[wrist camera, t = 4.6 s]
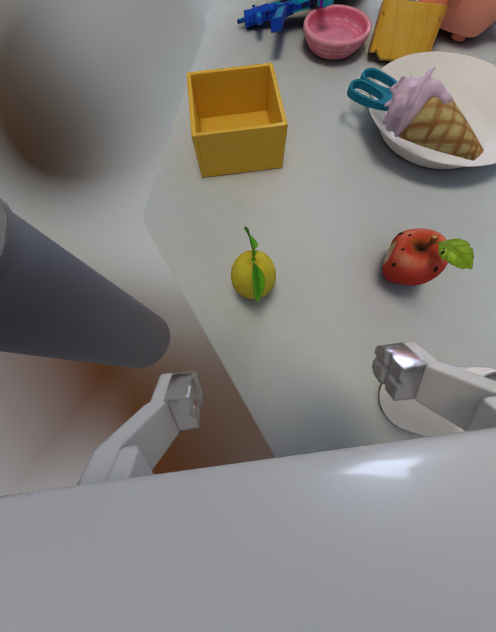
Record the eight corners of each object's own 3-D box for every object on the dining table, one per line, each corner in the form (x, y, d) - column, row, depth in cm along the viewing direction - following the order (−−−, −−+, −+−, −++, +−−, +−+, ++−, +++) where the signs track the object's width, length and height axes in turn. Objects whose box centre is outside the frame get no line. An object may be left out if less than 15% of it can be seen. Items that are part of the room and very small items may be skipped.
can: (441, 425, 27) (585, 458, 15) (387, 434, 27) (489, 473, 15) (422, 368, 28) (536, 358, 17) (370, 376, 28) (450, 372, 17)
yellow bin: (202, 177, 38) (191, 136, 31) (196, 120, 41) (186, 72, 35) (282, 167, 38) (287, 124, 31) (269, 111, 42) (272, 62, 35)
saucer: (313, 21, 48) (317, -4, 45) (372, 34, 47) (380, 10, 43) (291, 56, 45) (294, 33, 42) (352, 72, 44) (360, 49, 40)
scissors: (369, 64, 37) (487, 124, 33) (366, 72, 38) (481, 131, 34) (345, 87, 36) (464, 151, 32) (342, 94, 37) (458, 158, 33)
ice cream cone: (515, 116, 29) (418, 46, 29) (510, 137, 26) (403, 61, 27) (459, 165, 35) (379, 107, 35) (450, 186, 33) (364, 124, 33)
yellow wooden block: (426, 63, 42) (404, 85, 51) (456, -16, 38) (427, 22, 46) (369, 56, 43) (356, 79, 51) (391, -23, 39) (373, 16, 47)
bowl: (536, 117, 39) (563, 92, 36) (471, 214, 34) (495, 196, 31) (403, 60, 44) (415, 33, 41) (329, 138, 39) (336, 114, 36)
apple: (359, 266, 33) (403, 217, 23) (395, 242, 33) (452, 186, 24) (397, 309, 31) (463, 276, 21) (435, 283, 32) (514, 239, 22)
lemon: (246, 258, 33) (243, 208, 24) (282, 277, 32) (294, 232, 23) (222, 296, 32) (208, 259, 22) (259, 317, 31) (261, 287, 21)
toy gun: (239, 47, 43) (238, 27, 50) (414, -4, 38) (385, -18, 46) (235, 23, 41) (235, 6, 48) (422, -35, 36) (390, -44, 44)
